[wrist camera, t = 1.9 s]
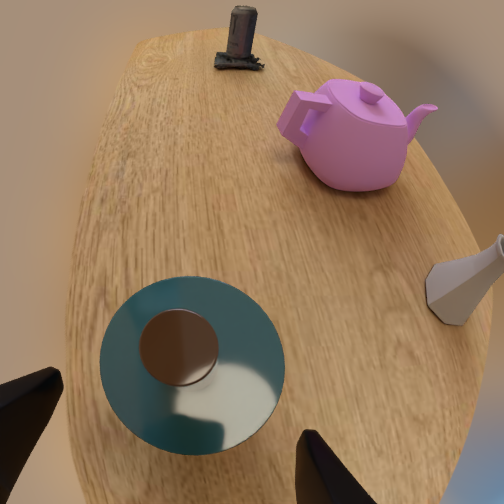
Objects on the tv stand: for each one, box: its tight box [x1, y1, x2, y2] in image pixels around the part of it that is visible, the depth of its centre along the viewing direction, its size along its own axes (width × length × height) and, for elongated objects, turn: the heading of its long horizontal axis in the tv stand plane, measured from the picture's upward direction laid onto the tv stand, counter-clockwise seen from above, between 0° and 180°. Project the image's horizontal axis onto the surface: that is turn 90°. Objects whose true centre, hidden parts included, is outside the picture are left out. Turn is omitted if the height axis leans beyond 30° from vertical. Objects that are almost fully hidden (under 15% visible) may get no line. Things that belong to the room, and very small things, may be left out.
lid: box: [100, 276, 285, 456], centre depth 10 cm, size 8×8×5 cm
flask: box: [426, 234, 504, 326], centre depth 22 cm, size 7×7×10 cm
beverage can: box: [214, 6, 265, 70], centre depth 41 cm, size 9×8×12 cm
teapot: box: [276, 79, 438, 191], centre depth 30 cm, size 13×20×11 cm
